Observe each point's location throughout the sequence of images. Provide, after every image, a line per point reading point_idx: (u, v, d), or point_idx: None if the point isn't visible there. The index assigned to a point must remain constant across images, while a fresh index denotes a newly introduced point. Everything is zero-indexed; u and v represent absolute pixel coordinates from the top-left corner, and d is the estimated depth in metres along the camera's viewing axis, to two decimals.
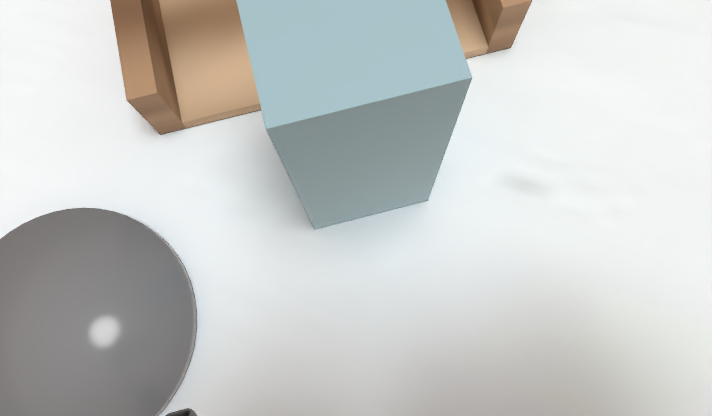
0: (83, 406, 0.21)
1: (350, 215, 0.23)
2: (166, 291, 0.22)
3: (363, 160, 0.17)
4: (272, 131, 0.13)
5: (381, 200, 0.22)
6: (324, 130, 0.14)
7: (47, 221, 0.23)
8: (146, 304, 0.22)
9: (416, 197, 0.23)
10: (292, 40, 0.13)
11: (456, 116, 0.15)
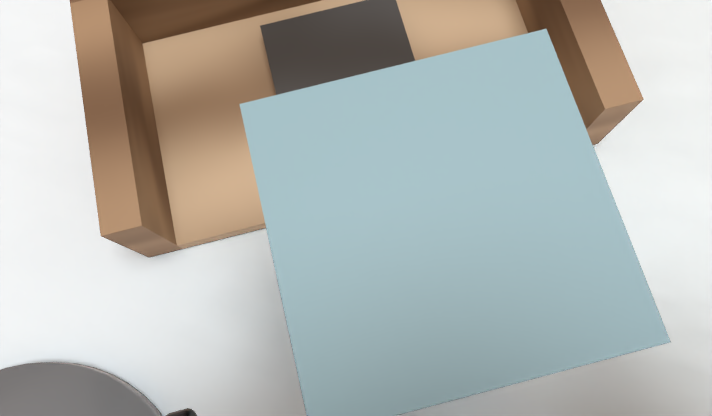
0: None
1: None
2: None
3: None
4: None
5: None
6: None
7: None
8: None
9: None
10: (354, 266, 0.08)
11: None
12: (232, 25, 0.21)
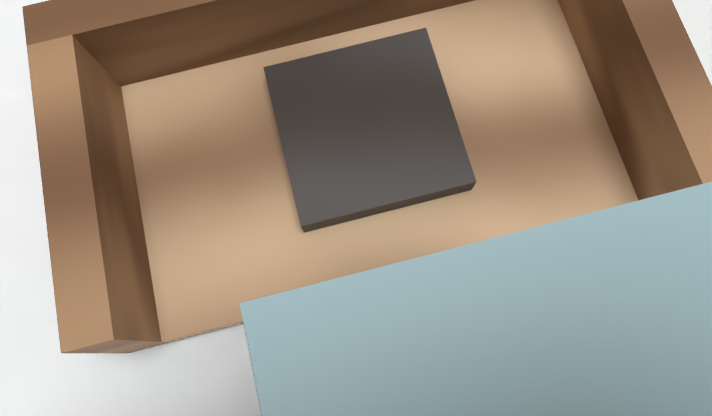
0: None
1: None
2: None
3: None
4: None
5: None
6: None
7: None
8: None
9: None
10: None
11: None
12: (229, 64, 0.17)
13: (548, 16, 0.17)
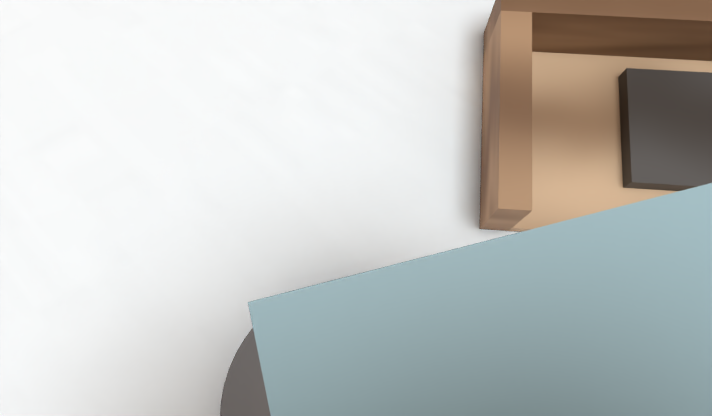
0: None
1: None
2: None
3: None
4: None
5: None
6: None
7: None
8: None
9: None
10: None
11: None
12: (593, 58, 0.24)
13: None
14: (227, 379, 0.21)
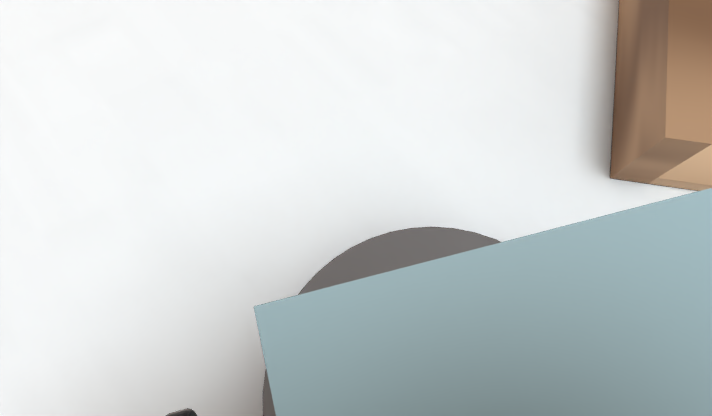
0: None
1: None
2: None
3: None
4: None
5: None
6: None
7: (444, 238, 0.17)
8: None
9: None
10: None
11: None
12: None
13: None
14: None
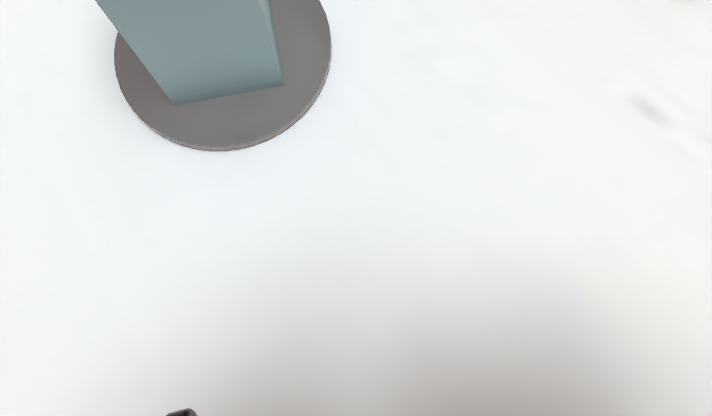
0: (207, 106, 0.25)
1: (205, 90, 0.24)
2: (310, 52, 0.25)
3: None
4: None
5: (228, 71, 0.23)
6: None
7: None
8: (290, 54, 0.25)
9: (268, 76, 0.24)
10: None
11: None
12: None
13: None
14: None
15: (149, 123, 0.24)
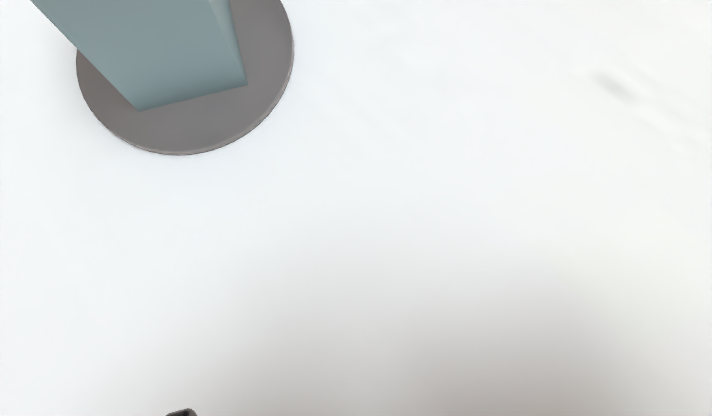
0: (172, 110, 0.25)
1: (167, 94, 0.24)
2: (272, 50, 0.25)
3: (117, 2, 0.18)
4: None
5: (188, 75, 0.23)
6: None
7: None
8: (252, 53, 0.25)
9: (229, 77, 0.24)
10: None
11: None
12: None
13: None
14: None
15: (114, 131, 0.24)
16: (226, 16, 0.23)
